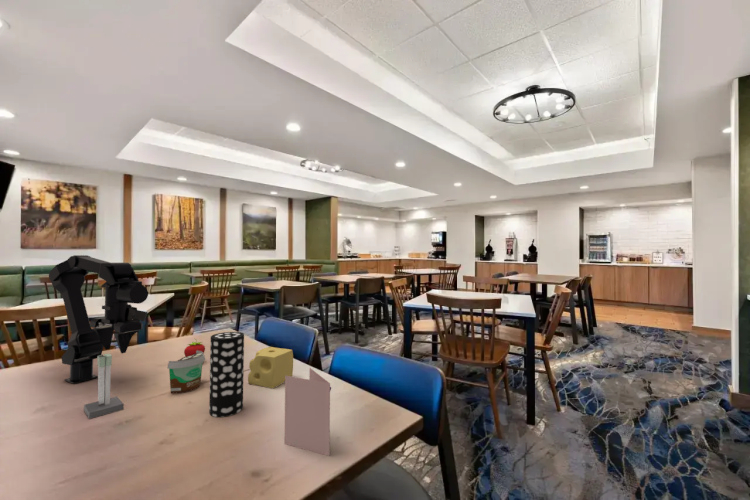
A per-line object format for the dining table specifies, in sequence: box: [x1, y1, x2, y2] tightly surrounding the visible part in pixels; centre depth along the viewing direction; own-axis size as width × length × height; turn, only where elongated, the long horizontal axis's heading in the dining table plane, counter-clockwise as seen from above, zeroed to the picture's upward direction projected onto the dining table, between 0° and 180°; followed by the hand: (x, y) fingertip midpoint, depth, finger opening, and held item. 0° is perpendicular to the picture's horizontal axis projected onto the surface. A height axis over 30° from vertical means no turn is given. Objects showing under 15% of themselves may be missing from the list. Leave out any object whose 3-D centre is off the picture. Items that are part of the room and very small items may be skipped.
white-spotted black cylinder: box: [208, 331, 245, 418], centre depth 88 cm, size 8×8×20 cm
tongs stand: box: [83, 353, 124, 420], centre depth 88 cm, size 7×7×14 cm
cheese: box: [247, 346, 294, 389], centre depth 109 cm, size 10×11×10 cm
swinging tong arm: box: [96, 354, 105, 405], centre depth 87 cm, size 3×1×12 cm, turn 50°
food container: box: [166, 351, 206, 395], centre depth 102 cm, size 12×6×10 cm, turn 168°
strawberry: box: [183, 339, 206, 357], centre depth 125 cm, size 6×8×10 cm
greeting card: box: [283, 367, 332, 457], centre depth 71 cm, size 11×7×15 cm, turn 33°
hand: (115, 351), depth 104 cm, fingers open, 9 cm apart
